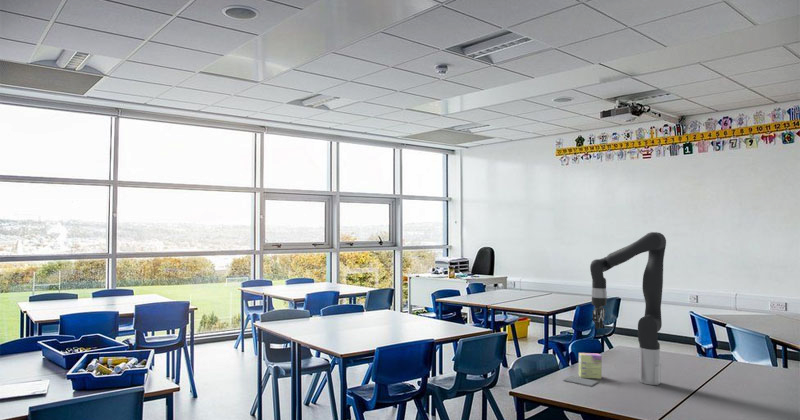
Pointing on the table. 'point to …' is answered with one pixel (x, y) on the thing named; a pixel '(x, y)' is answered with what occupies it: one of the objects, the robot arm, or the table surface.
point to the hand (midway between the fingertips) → (598, 328)
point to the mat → (581, 381)
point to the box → (590, 365)
